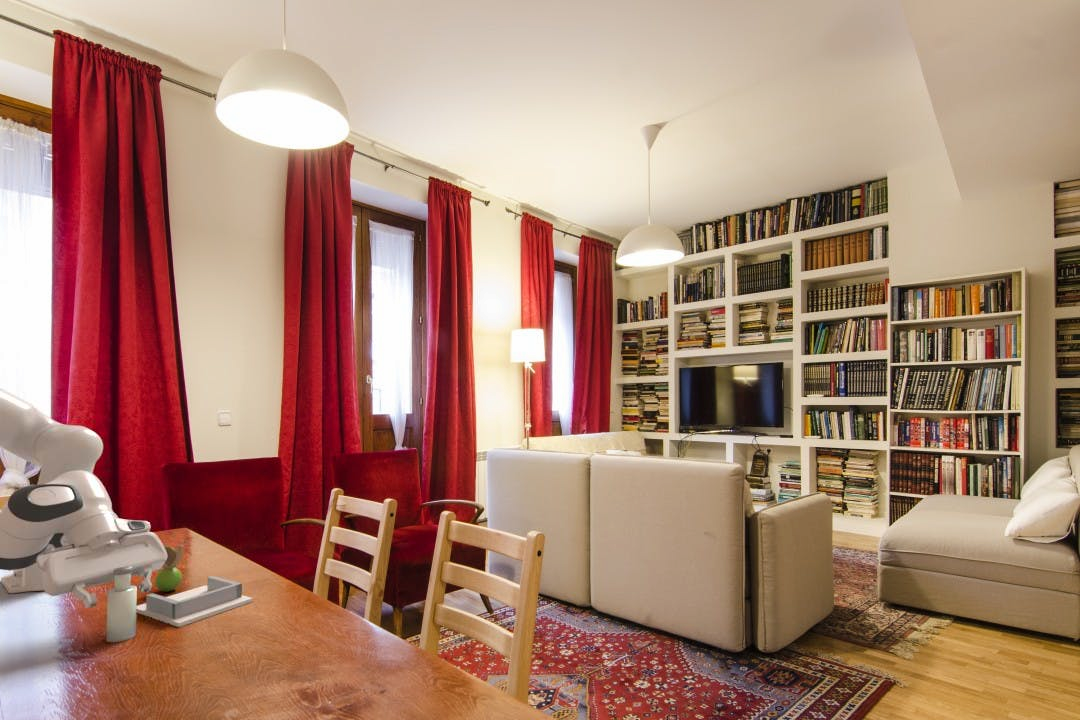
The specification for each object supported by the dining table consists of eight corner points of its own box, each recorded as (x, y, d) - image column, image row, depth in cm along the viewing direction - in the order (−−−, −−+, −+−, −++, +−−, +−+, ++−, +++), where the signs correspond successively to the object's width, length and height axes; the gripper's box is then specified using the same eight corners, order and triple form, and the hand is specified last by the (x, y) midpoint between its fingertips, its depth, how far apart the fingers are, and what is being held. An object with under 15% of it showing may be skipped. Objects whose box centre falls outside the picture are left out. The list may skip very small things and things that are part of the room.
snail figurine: (172, 595, 136) (173, 543, 136) (149, 594, 137) (150, 542, 138) (190, 587, 141) (191, 537, 142) (168, 586, 142) (169, 536, 143)
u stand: (132, 610, 127) (132, 593, 127) (205, 588, 141) (206, 572, 141) (178, 627, 118) (179, 607, 118) (252, 601, 132) (252, 584, 132)
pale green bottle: (101, 639, 112) (103, 570, 113) (128, 630, 116) (129, 563, 117) (113, 644, 110) (115, 573, 111) (140, 635, 114) (142, 567, 115)
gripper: (38, 541, 109) (61, 605, 103) (156, 519, 126) (181, 573, 121) (27, 562, 111) (49, 626, 105) (145, 538, 128) (169, 591, 123)
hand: (120, 597), depth 113 cm, fingers open, 8 cm apart
